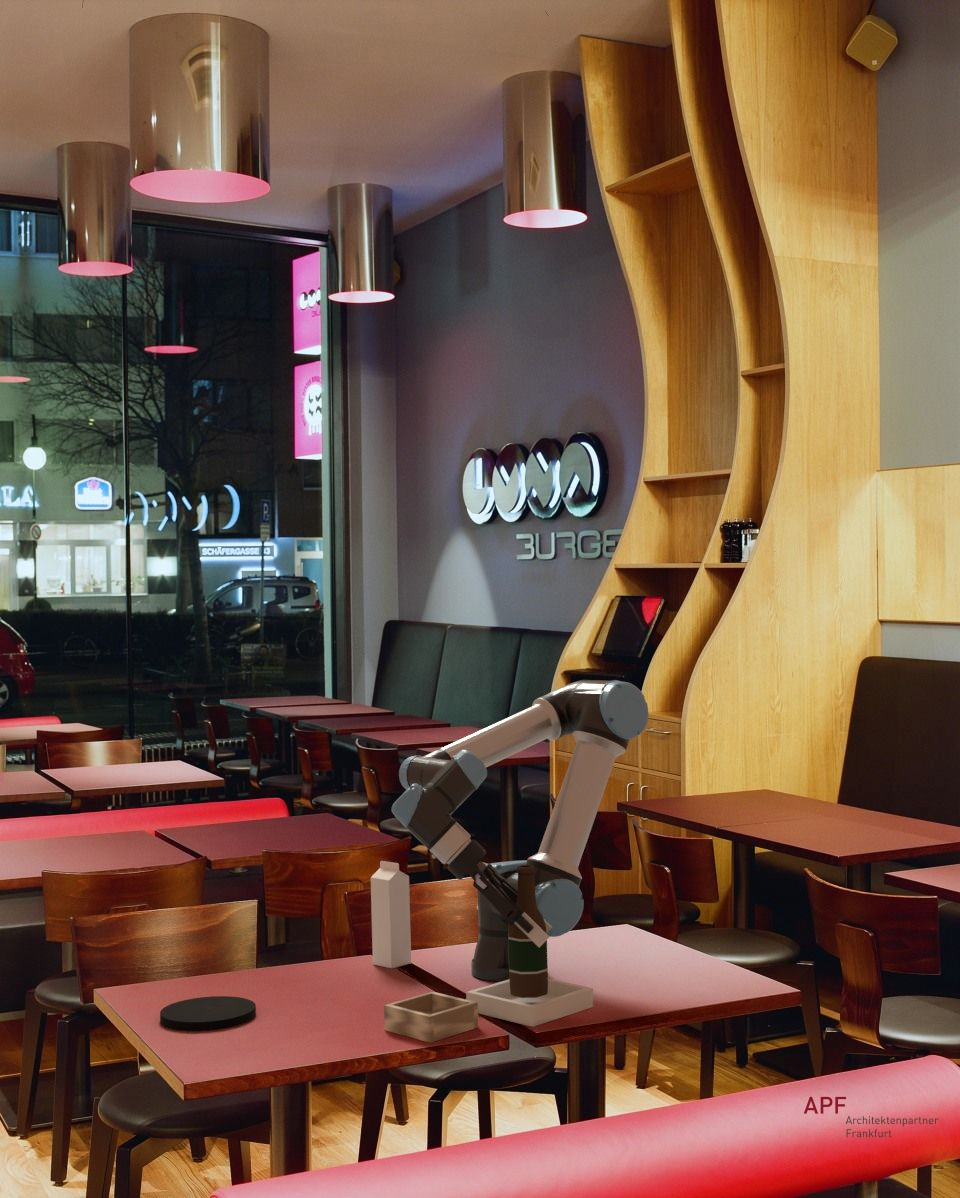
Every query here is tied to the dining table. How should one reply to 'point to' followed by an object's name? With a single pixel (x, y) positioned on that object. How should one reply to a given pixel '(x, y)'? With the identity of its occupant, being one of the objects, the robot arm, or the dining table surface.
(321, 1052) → the dining table surface
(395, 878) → the milk
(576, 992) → the tray
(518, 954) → the beer bottle
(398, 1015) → the box
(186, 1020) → the wireless charger
